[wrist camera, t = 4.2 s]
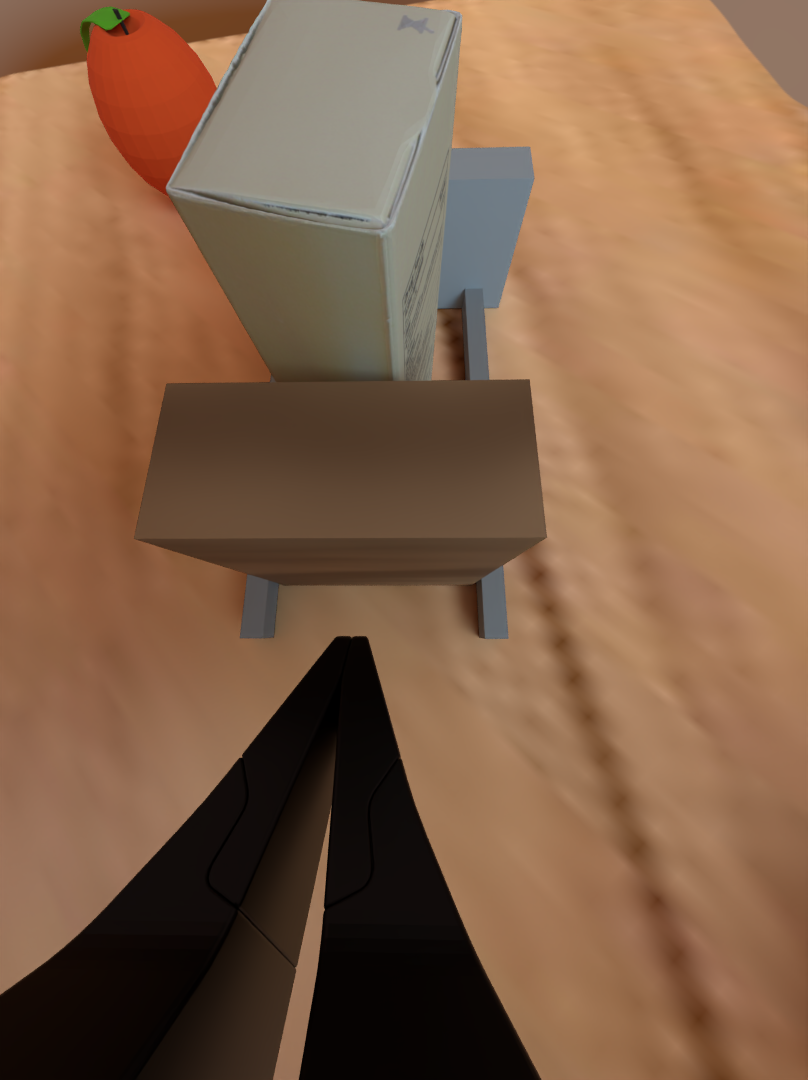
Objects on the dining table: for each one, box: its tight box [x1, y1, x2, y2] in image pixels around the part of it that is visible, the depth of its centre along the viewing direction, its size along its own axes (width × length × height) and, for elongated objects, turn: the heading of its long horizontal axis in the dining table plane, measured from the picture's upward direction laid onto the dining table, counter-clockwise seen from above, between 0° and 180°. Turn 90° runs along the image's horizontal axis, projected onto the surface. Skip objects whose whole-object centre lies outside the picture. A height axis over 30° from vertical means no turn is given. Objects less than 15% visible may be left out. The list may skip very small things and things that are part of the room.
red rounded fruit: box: [80, 7, 217, 196], centre depth 20 cm, size 8×7×7 cm
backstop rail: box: [240, 147, 534, 639], centre depth 15 cm, size 21×14×6 cm, turn 0°
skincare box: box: [166, 0, 462, 382], centre depth 12 cm, size 6×4×12 cm
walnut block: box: [134, 379, 547, 585], centre depth 12 cm, size 4×9×9 cm, turn 90°
